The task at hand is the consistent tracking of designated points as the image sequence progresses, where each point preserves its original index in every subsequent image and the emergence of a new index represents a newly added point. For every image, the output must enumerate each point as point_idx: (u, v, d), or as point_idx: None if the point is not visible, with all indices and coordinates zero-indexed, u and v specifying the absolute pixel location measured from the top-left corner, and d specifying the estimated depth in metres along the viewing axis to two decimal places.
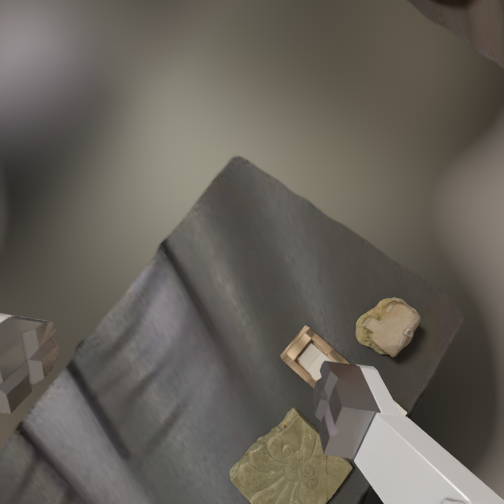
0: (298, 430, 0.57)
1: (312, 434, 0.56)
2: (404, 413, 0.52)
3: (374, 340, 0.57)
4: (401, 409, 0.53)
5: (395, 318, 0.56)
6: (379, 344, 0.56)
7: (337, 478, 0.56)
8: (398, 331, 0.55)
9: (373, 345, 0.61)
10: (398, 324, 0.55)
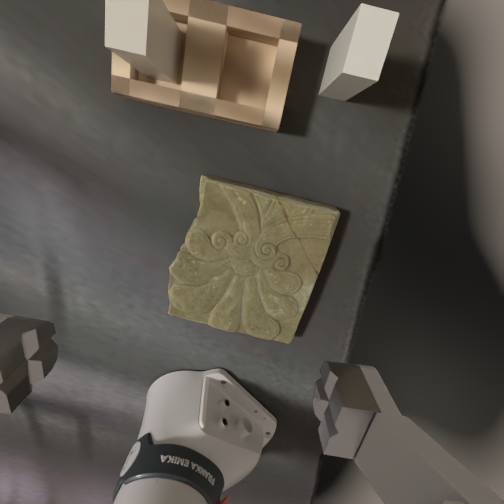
0: (219, 202, 0.31)
1: (245, 195, 0.30)
2: (392, 19, 0.20)
3: None
4: (381, 13, 0.20)
5: None
6: None
7: (319, 238, 0.32)
8: None
9: None
10: None
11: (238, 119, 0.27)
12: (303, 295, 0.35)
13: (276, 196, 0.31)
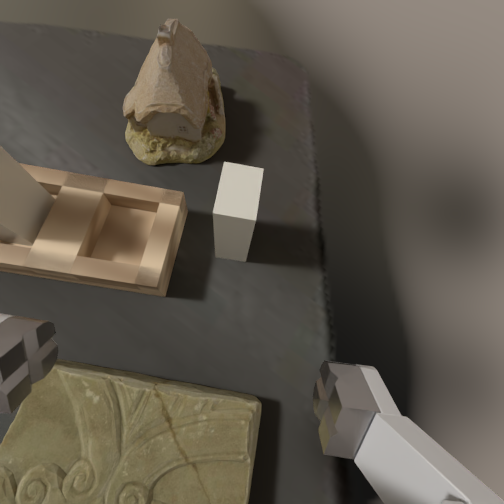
0: (54, 403, 0.18)
1: (98, 386, 0.18)
2: (257, 172, 0.20)
3: (139, 113, 0.25)
4: (246, 168, 0.20)
5: (150, 53, 0.26)
6: (146, 107, 0.24)
7: (230, 459, 0.18)
8: (155, 54, 0.24)
9: (173, 149, 0.29)
10: (153, 50, 0.25)
11: (102, 277, 0.21)
12: None
13: (154, 384, 0.19)
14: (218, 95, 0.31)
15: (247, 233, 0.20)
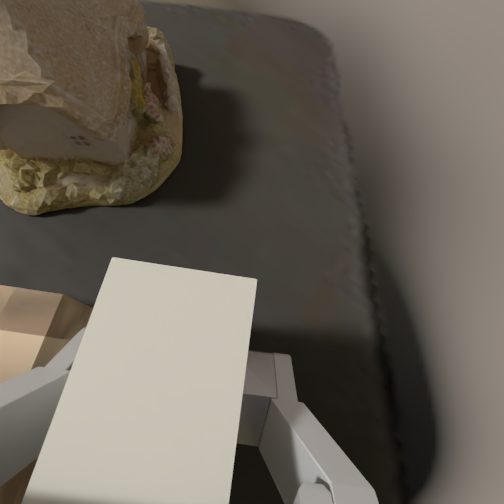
0: None
1: None
2: (234, 298, 0.05)
3: None
4: (192, 283, 0.05)
5: None
6: None
7: None
8: None
9: (71, 183, 0.14)
10: None
11: None
12: None
13: None
14: (166, 76, 0.17)
15: None
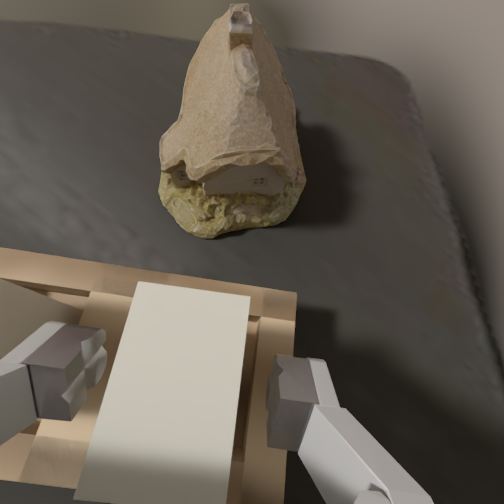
0: None
1: None
2: (233, 312, 0.07)
3: (197, 168, 0.15)
4: (200, 300, 0.07)
5: (200, 65, 0.16)
6: (212, 158, 0.14)
7: None
8: (220, 66, 0.14)
9: (240, 211, 0.18)
10: (212, 60, 0.15)
11: None
12: None
13: None
14: None
15: None
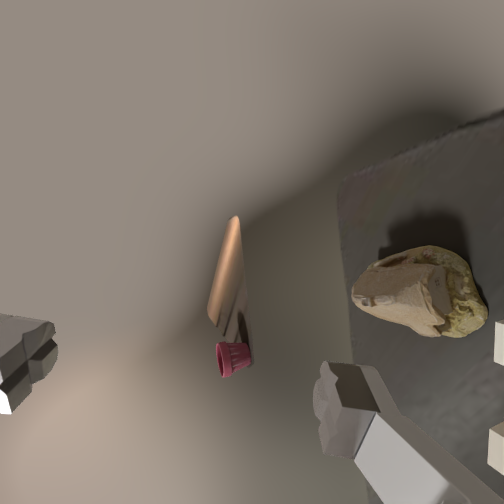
0: None
1: None
2: (503, 330, 0.19)
3: (437, 320, 0.28)
4: (499, 341, 0.19)
5: (380, 314, 0.34)
6: (430, 313, 0.28)
7: None
8: (382, 308, 0.31)
9: (461, 290, 0.29)
10: (378, 310, 0.33)
11: None
12: None
13: None
14: (390, 259, 0.37)
15: None
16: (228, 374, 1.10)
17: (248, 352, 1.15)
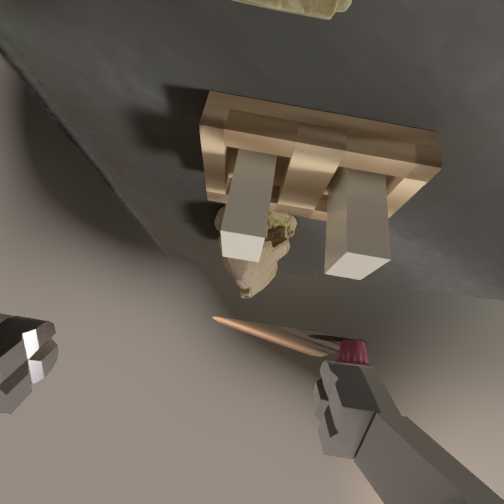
0: None
1: None
2: (227, 255, 0.21)
3: (264, 247, 0.31)
4: (238, 257, 0.22)
5: (266, 278, 0.36)
6: None
7: None
8: (254, 282, 0.33)
9: None
10: (259, 282, 0.35)
11: (259, 136, 0.18)
12: None
13: None
14: None
15: (232, 203, 0.19)
16: None
17: (351, 340, 1.10)
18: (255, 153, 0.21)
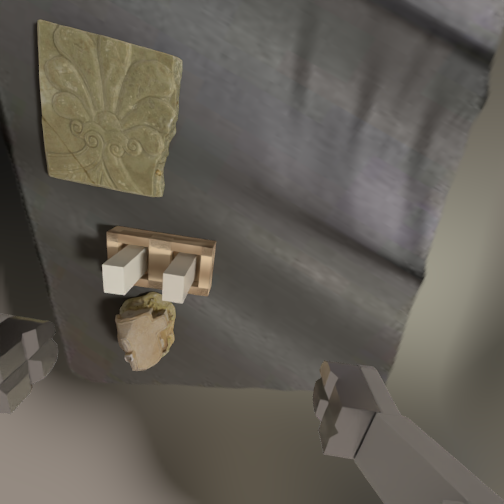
0: (139, 180, 0.40)
1: (120, 187, 0.40)
2: (106, 289, 0.39)
3: (145, 315, 0.46)
4: (112, 291, 0.39)
5: (150, 350, 0.47)
6: (138, 318, 0.45)
7: (54, 153, 0.39)
8: (137, 347, 0.45)
9: (139, 302, 0.50)
10: (142, 350, 0.46)
11: (133, 236, 0.42)
12: (46, 91, 0.36)
13: (99, 186, 0.41)
14: None
15: (112, 258, 0.39)
16: None
17: None
18: (133, 247, 0.44)
